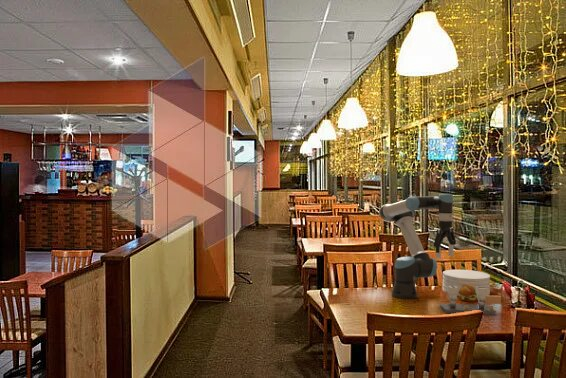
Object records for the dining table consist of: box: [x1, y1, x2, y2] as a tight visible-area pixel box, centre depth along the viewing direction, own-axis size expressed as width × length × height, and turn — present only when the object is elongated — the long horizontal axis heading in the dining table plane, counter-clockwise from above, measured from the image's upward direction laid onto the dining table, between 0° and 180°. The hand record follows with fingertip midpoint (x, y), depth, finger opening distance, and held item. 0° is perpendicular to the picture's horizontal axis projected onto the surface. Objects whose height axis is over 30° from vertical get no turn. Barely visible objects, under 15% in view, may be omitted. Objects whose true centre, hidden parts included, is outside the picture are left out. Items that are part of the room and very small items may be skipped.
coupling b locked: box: [476, 287, 502, 305], centre depth 250 cm, size 12×4×9 cm, turn 85°
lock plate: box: [439, 299, 497, 316], centre depth 251 cm, size 26×12×6 cm, turn 85°
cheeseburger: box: [458, 285, 477, 302], centre depth 273 cm, size 10×11×10 cm
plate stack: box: [442, 269, 491, 297], centre depth 294 cm, size 28×28×12 cm
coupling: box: [445, 286, 458, 302], centre depth 255 cm, size 12×4×9 cm, turn 175°
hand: (444, 257), depth 266 cm, fingers open, 13 cm apart
